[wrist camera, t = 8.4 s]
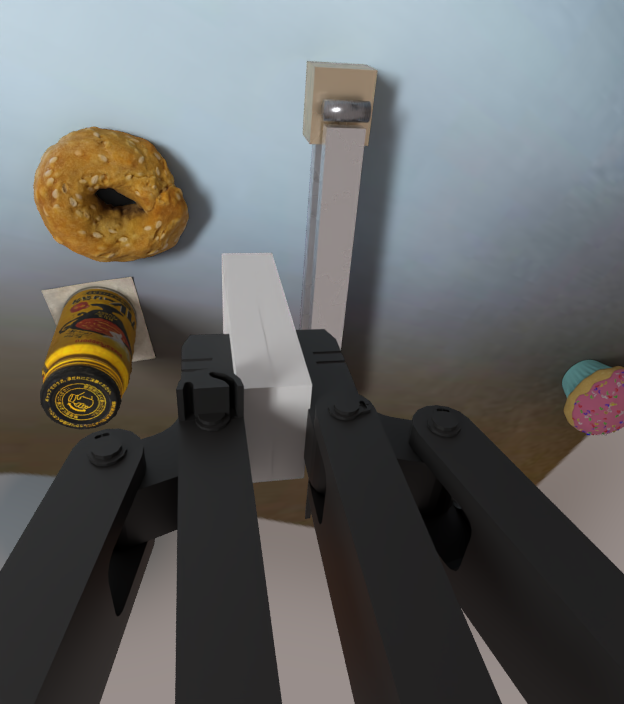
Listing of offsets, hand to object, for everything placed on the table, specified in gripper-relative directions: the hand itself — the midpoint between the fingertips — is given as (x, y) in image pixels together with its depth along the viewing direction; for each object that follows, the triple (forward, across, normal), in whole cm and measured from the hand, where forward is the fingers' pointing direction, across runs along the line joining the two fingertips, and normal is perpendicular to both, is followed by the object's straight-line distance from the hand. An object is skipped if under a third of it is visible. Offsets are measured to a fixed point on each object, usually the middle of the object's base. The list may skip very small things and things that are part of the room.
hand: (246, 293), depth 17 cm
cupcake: (+29, +41, -27) cm, 57 cm away
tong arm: (+25, +9, -12) cm, 29 cm away
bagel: (+29, -7, -6) cm, 30 cm away
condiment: (+29, -10, -18) cm, 35 cm away
